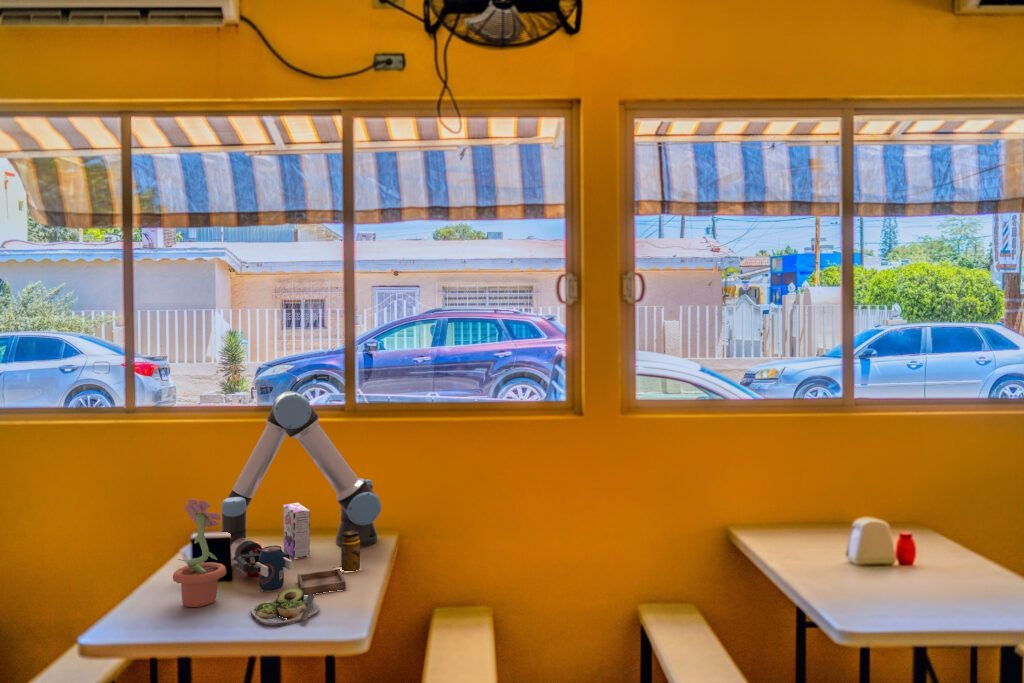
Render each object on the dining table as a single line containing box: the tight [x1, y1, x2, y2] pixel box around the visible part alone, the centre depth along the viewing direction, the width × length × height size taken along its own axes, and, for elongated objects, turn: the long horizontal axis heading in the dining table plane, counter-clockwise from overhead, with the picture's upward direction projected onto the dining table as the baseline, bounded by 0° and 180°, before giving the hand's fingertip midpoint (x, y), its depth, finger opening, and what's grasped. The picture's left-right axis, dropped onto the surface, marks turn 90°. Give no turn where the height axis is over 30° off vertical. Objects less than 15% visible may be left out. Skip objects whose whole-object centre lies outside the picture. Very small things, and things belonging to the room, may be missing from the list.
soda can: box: [258, 545, 285, 592], centre depth 199 cm, size 7×7×12 cm
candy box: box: [282, 502, 311, 560], centre depth 233 cm, size 14×6×16 cm, turn 33°
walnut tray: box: [297, 569, 347, 595], centre depth 200 cm, size 13×13×2 cm
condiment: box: [333, 531, 365, 572], centre depth 215 cm, size 7×8×12 cm
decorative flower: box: [172, 498, 227, 608], centre depth 188 cm, size 15×14×30 cm
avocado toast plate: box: [250, 587, 321, 627], centre depth 179 cm, size 19×18×5 cm
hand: (279, 568), depth 195 cm, fingers closed on soda can, 7 cm apart
